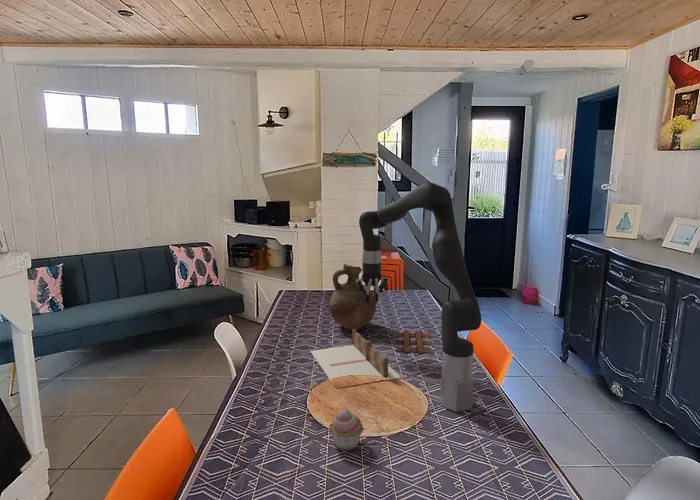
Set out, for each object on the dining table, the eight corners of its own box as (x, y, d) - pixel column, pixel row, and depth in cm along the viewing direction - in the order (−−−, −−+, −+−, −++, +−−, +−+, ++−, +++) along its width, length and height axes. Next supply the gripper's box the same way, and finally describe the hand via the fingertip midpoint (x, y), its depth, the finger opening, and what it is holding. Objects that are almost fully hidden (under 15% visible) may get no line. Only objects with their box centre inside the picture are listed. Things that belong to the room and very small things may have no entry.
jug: (383, 331, 204) (384, 267, 198) (339, 338, 196) (338, 271, 191) (364, 317, 223) (364, 258, 218) (323, 323, 216) (322, 261, 211)
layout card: (401, 377, 158) (401, 377, 158) (336, 388, 150) (336, 388, 150) (365, 343, 189) (365, 343, 189) (310, 351, 181) (310, 350, 181)
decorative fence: (396, 354, 180) (434, 355, 179) (396, 350, 180) (434, 351, 178) (396, 334, 203) (430, 335, 201) (396, 330, 202) (430, 331, 201)
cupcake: (371, 442, 120) (371, 408, 118) (347, 459, 113) (347, 422, 112) (345, 429, 126) (345, 396, 125) (321, 444, 119) (321, 409, 118)
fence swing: (369, 356, 175) (369, 341, 174) (364, 356, 174) (365, 341, 173) (355, 342, 188) (355, 328, 187) (351, 343, 188) (351, 329, 187)
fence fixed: (389, 377, 158) (389, 357, 157) (383, 378, 157) (383, 358, 156) (370, 358, 174) (370, 340, 173) (364, 359, 174) (364, 340, 172)
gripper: (358, 264, 174) (358, 306, 177) (391, 261, 179) (391, 303, 182) (352, 260, 181) (352, 301, 184) (383, 258, 186) (383, 298, 189)
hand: (371, 302), depth 183 cm, fingers open, 3 cm apart
